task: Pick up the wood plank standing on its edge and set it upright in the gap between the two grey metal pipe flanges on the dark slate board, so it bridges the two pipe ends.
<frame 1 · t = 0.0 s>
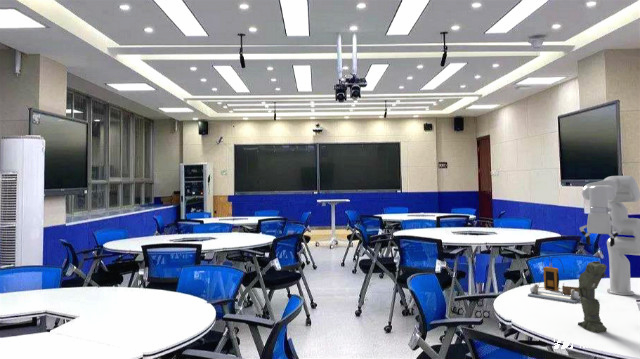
hand: (600, 245, 208), 31 cm above the table, tool pointing down, fingers open, 9 cm apart
pipe run: (554, 297, 230), on the table
multimeter: (554, 289, 250), on the table
mechanical leg: (593, 329, 178), on the table
wood plank: (578, 297, 232), on the table
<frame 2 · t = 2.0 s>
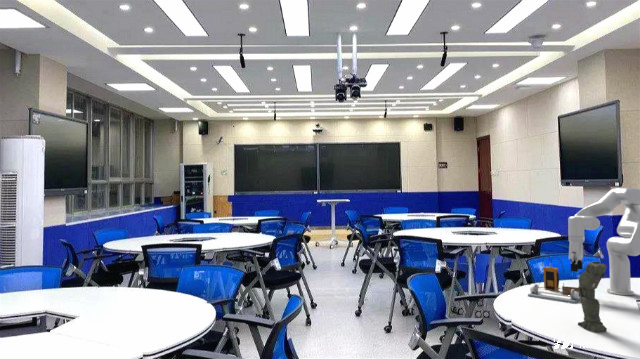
hand: (576, 270, 232), 15 cm above the table, tool pointing down, fingers open, 9 cm apart
nothing on the table moved.
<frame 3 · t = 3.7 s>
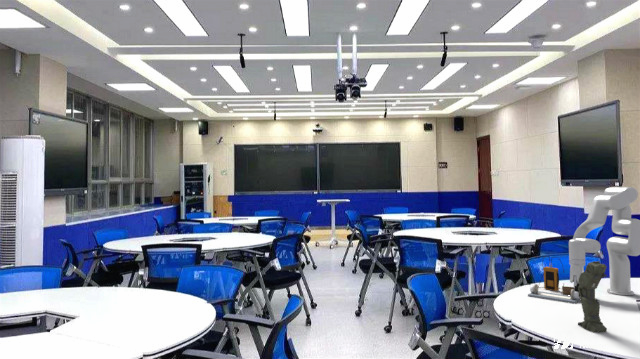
hand: (578, 295, 232), 1 cm above the table, tool pointing down, fingers closed on wood plank, 1 cm apart
wood plank: (578, 297, 231), on the table, touching gripper
everything else where it was.
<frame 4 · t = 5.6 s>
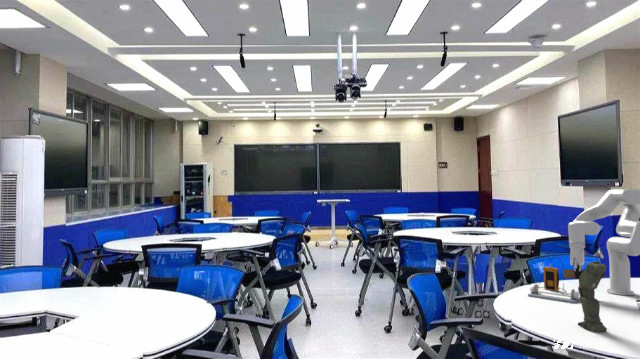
hand: (578, 277, 232), 10 cm above the table, tool pointing down, fingers closed on wood plank, 1 cm apart
wood plank: (579, 279, 232), point 9 cm above the table, touching gripper
everything else where it was.
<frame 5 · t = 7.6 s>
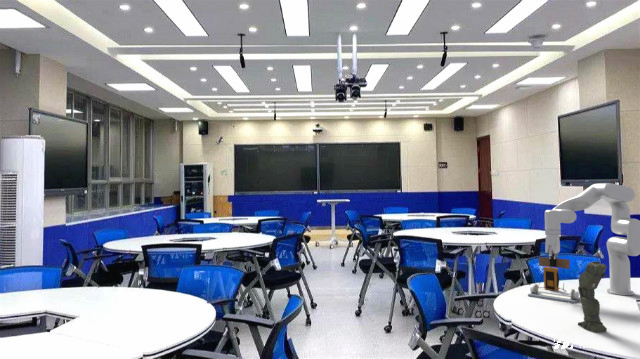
hand: (553, 266, 231), 17 cm above the table, tool pointing down, fingers closed on wood plank, 1 cm apart
wood plank: (554, 267, 231), point 16 cm above the table, touching gripper
everything else where it was.
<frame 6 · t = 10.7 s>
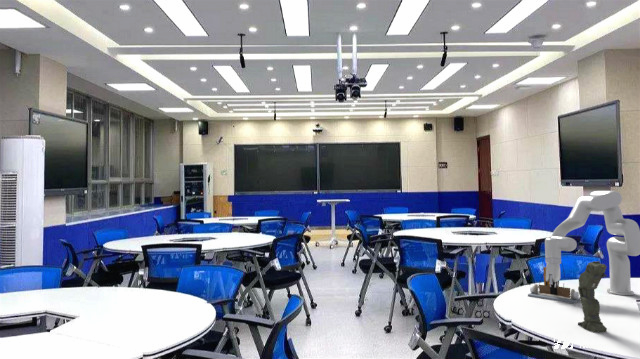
hand: (554, 294, 231), 2 cm above the table, tool pointing down, fingers closed on wood plank, 1 cm apart
wood plank: (554, 295, 230), point 1 cm above the table, touching gripper
everything else where it was.
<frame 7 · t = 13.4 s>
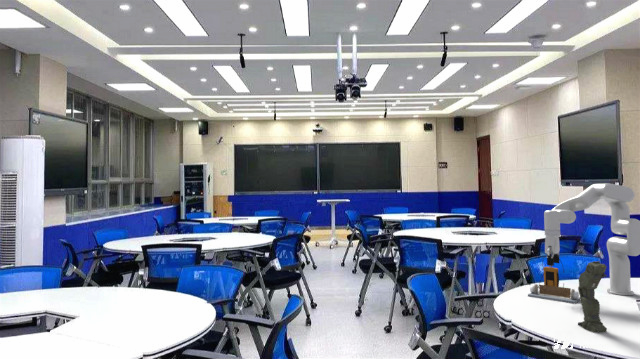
hand: (553, 264, 231), 18 cm above the table, tool pointing down, fingers open, 9 cm apart
wood plank: (554, 296, 230), point 1 cm above the table, touching pipe run
everything else where it was.
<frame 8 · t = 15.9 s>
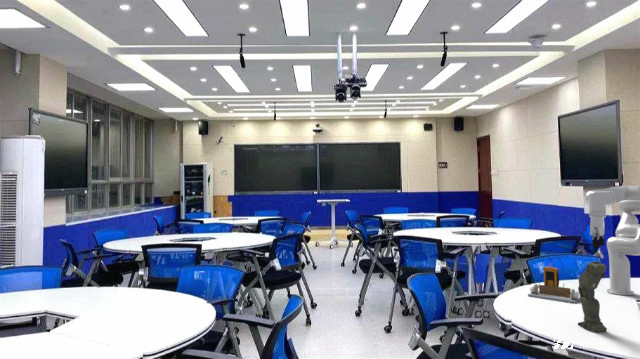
hand: (598, 246, 226), 28 cm above the table, tool pointing down, fingers open, 9 cm apart
nothing on the table moved.
at the end: wood plank 0.4 cm from the target spot, point 0.9 cm above the table; wood plank tilted 1°; the gripper is holding nothing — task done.
